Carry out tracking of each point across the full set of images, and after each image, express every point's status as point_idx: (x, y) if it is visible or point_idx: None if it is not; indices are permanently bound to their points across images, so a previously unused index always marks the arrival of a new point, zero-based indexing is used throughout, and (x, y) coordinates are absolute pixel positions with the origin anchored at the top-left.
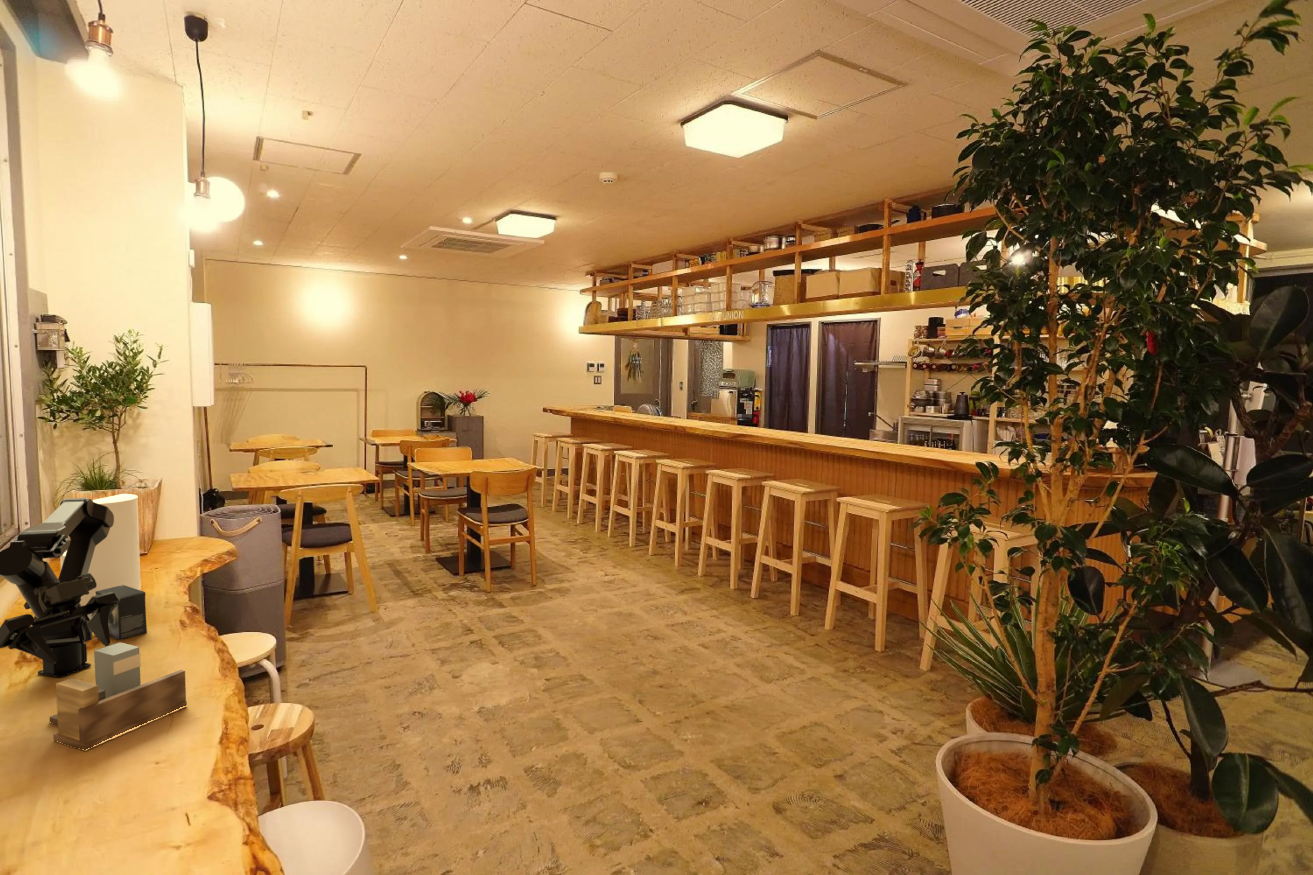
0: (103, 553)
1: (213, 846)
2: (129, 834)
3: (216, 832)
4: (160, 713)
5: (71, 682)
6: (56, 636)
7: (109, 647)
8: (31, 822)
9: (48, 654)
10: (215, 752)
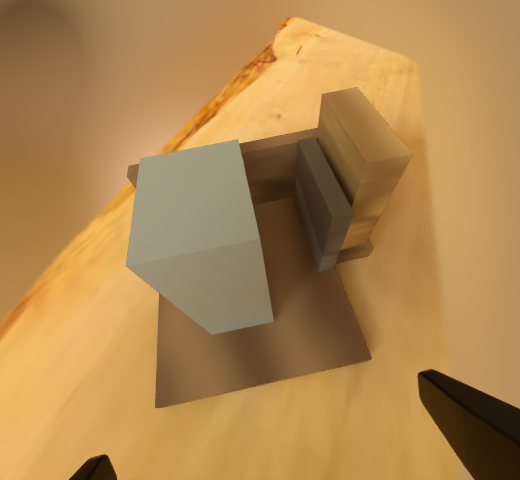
0: None
1: (300, 29)
2: (337, 53)
3: (292, 35)
4: None
5: (372, 136)
6: None
7: (198, 227)
8: (403, 93)
9: (499, 400)
10: (230, 103)
